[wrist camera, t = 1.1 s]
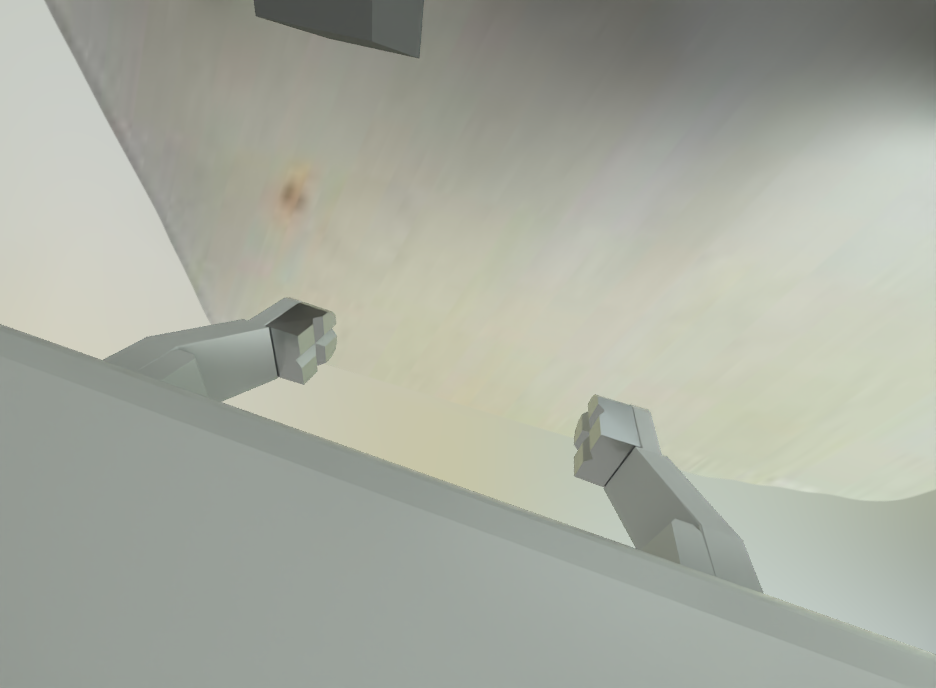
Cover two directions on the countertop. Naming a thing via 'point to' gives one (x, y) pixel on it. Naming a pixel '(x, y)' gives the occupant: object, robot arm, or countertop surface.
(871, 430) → the countertop surface
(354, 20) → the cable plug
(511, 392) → the countertop surface
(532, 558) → the robot arm
